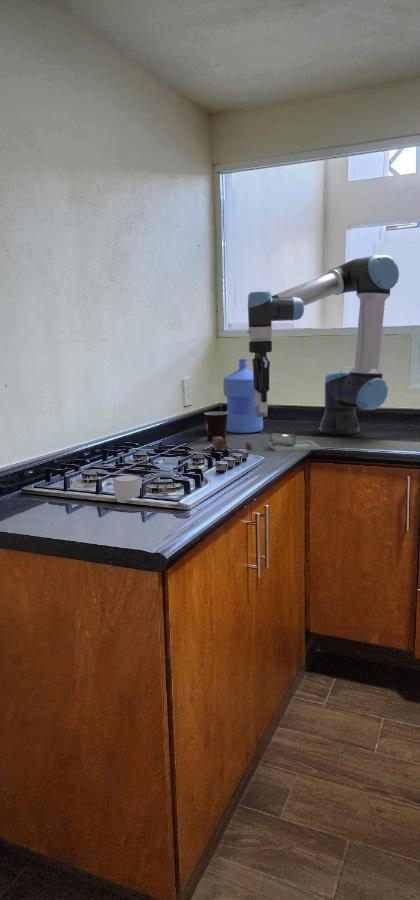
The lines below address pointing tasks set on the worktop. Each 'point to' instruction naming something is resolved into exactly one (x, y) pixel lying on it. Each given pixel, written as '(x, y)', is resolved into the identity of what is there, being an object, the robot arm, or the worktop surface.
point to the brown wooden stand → (221, 444)
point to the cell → (258, 414)
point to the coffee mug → (215, 424)
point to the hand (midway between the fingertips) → (261, 410)
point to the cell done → (282, 439)
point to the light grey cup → (126, 487)
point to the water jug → (241, 401)
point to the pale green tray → (297, 446)
